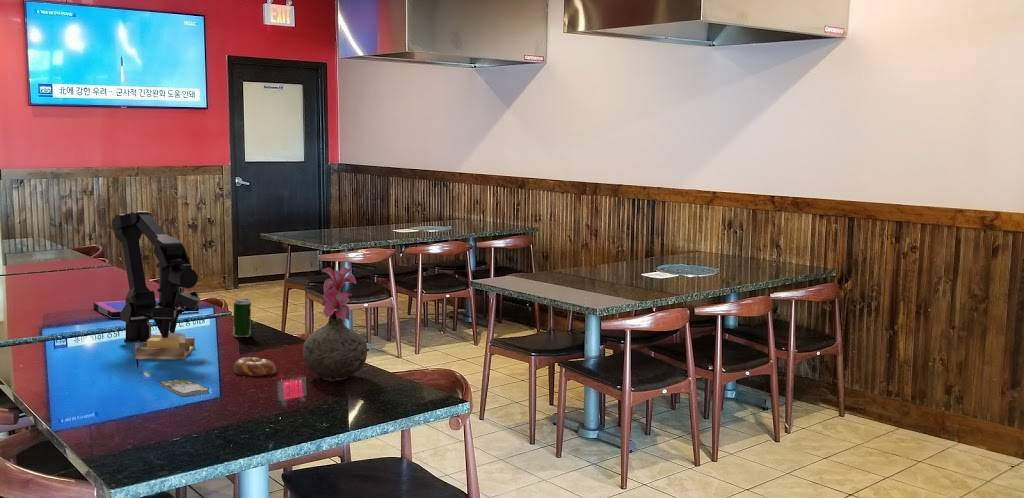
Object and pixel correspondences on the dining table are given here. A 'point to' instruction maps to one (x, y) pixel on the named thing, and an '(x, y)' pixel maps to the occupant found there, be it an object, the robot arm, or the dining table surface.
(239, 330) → the beer can
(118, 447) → the dining table surface
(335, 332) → the vase
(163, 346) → the ochre bar
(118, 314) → the book
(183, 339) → the cream bar
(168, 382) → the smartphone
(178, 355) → the comb board
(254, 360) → the pretzel
